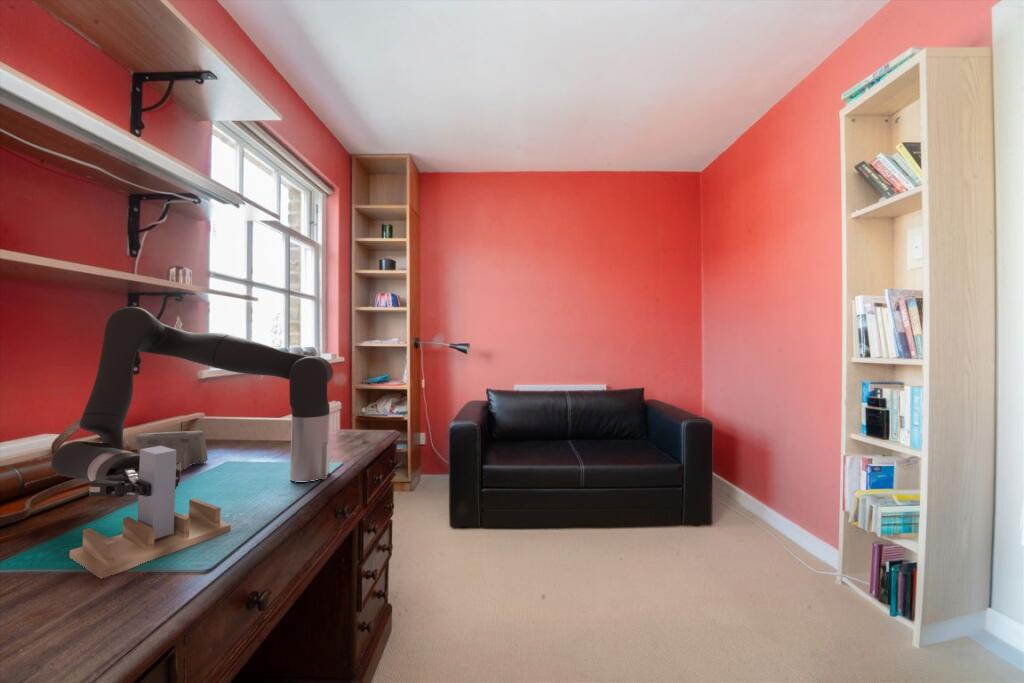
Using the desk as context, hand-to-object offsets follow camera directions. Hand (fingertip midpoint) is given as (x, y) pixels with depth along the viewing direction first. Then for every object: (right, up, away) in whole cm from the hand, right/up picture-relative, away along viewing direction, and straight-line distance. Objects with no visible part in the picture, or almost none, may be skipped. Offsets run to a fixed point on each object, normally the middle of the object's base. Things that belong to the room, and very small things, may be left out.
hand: (162, 487), depth 69 cm
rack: (-2, -10, +1) cm, 11 cm away
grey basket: (-37, -11, +44) cm, 58 cm away
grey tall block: (-2, -8, +1) cm, 9 cm away
